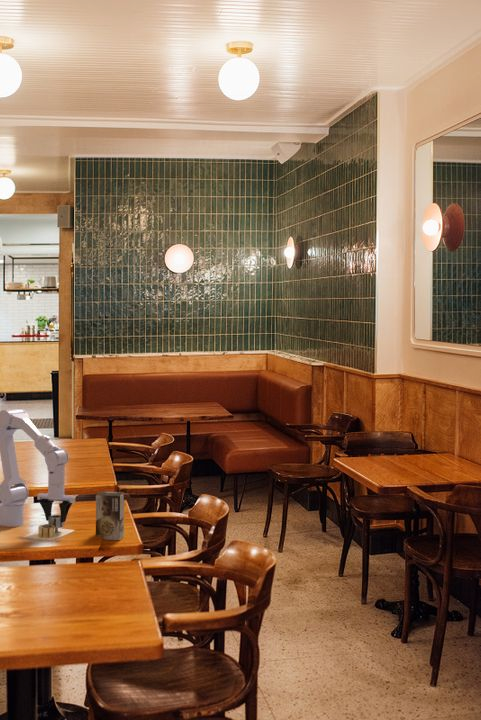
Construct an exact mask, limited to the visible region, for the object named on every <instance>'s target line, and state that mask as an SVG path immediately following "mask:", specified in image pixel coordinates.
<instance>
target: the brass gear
mask: <svg viewBox="0 0 481 720" xmlns="http://www.w3.org/2000/svg"><path fill="white" fill-rule="evenodd" d="M38 530H39V533H38V536H39V537H41V538H42V537H43V538H48V537H49V538H50V537H53V536H55V525H51V524H49V527H45V524H40V525H39V526H38Z"/></svg>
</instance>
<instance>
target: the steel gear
mask: <svg viewBox="0 0 481 720" xmlns="http://www.w3.org/2000/svg"><path fill="white" fill-rule="evenodd" d="M47 524H51V525H55V528H63V527H65V522H61V514H51V516H48V521H47Z"/></svg>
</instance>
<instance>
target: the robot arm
mask: <svg viewBox="0 0 481 720" xmlns="http://www.w3.org/2000/svg"><path fill="white" fill-rule="evenodd" d="M18 429H21V430H22V431H23V432H24V433H25V434H26V435H27V436H28V437H29V438H30V439H32V441H34V447H35V449H37V450H38V452H39V453H40V454H41V455H42V456H43V457H44V461H45V465H46V467H47V471H48V475H47V476H48V477H47V478H48V483H47V489H48V491H47V493H42V492H41V493H37V495H36V497H37V500H39V504H40V506H41V509H42V510H43V512H44V516H45V521H47V522H48V516H52V508H53V503H54V502H58V506H59V510H60V515H61V522H64V523H65V522H66V521H67V516H68V513H69V511H70V509H71V507H72V505H73V504H74V503H76V496H72V495H67V494H65V488H66V487H65V485H66V484H65V478H66V477H65V475H66V473H65V472H66V470H65V469H66V464H67V463H68V462H69V453H68V452H67V450H66V449H65V448H60V447H58V445H56V444H55V443H54V441H53V440H51V439H52V438H51V437H50V436H49V435H46V434H42V433H41V432H40V431H39V430H38V428H37V427H36V425H35V424H34V423H33V421H32V420H31V419H30V416H29V413H28V412H27V411H26V410H25V409H24V408H22V407H20V408H19V407H18V408H14V409H2V410H0V463H1V467H2V474H3V480H2V482H0V526H3V527H7V528H8V527H9V528H15V527H18V528H19V527H21V526H24V523H25V522H24V521H25V518H24V517H25V515H24V514H25V513H24V511H25V510H24V509H25V507H24V506H25V503H26V500H28V497H29V488H28V487H27V485H26V481H25V479H23V478H22V477H21V476H20V471H19V467H18V465H19V464H18V461H17V454H16V453H17V452H16V448H15V441H14V434H15V432H16V431H17V430H18ZM40 500H41V501H40Z"/></svg>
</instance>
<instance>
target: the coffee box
mask: <svg viewBox="0 0 481 720" xmlns="http://www.w3.org/2000/svg"><path fill="white" fill-rule="evenodd" d="M124 527H125V492H124V491H102V490H101V491H99V492H98V493H97V494H96V495H95V537H103V538H102V540H105V541H106V540H109V541H110V540H111V541H120V540H122V539H123V538H124V535H125V528H124Z"/></svg>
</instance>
